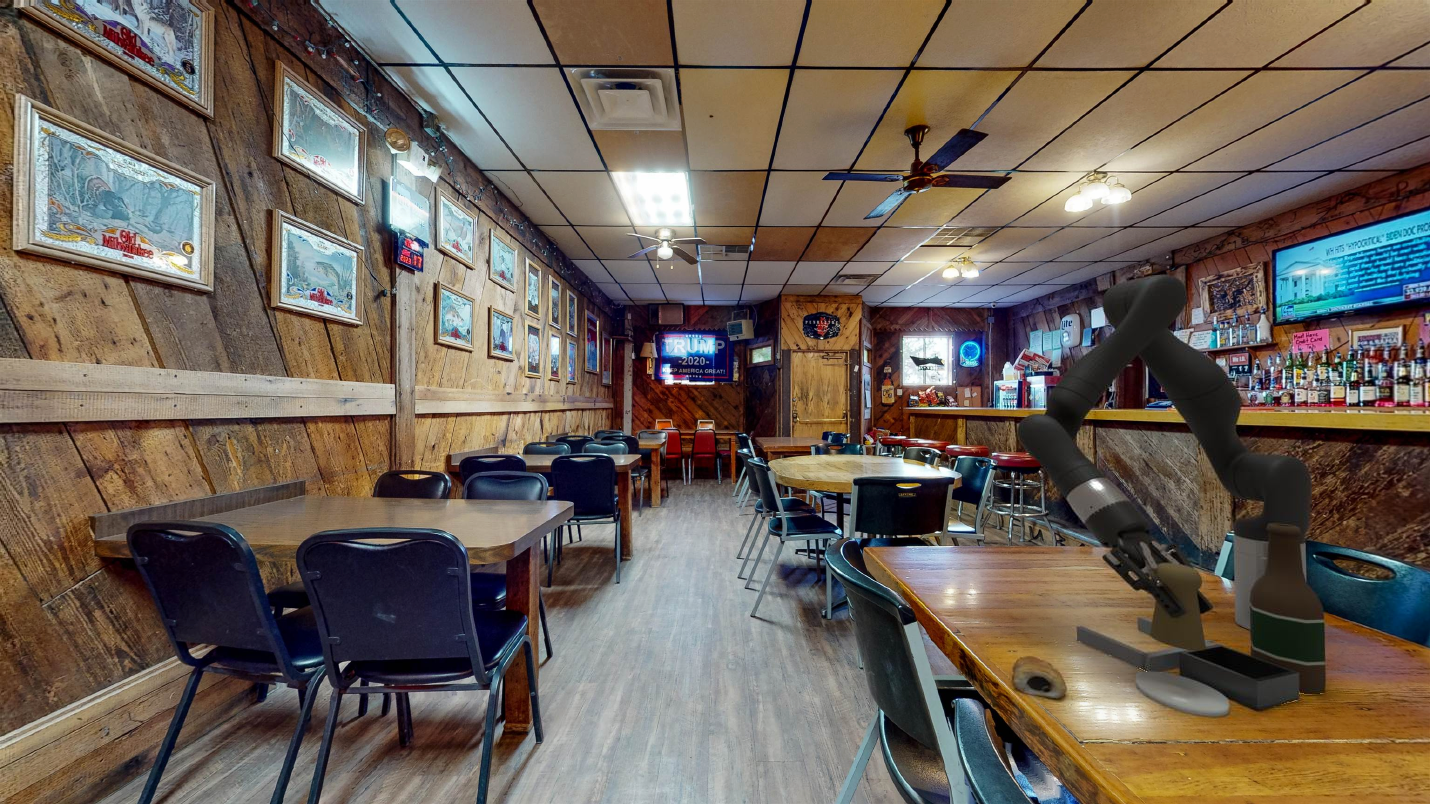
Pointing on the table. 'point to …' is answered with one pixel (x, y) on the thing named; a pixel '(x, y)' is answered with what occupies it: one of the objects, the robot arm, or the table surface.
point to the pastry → (1038, 678)
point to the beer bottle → (1288, 613)
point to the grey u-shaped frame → (1133, 649)
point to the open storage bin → (1241, 676)
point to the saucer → (1182, 694)
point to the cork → (1184, 587)
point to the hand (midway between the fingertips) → (1193, 613)
